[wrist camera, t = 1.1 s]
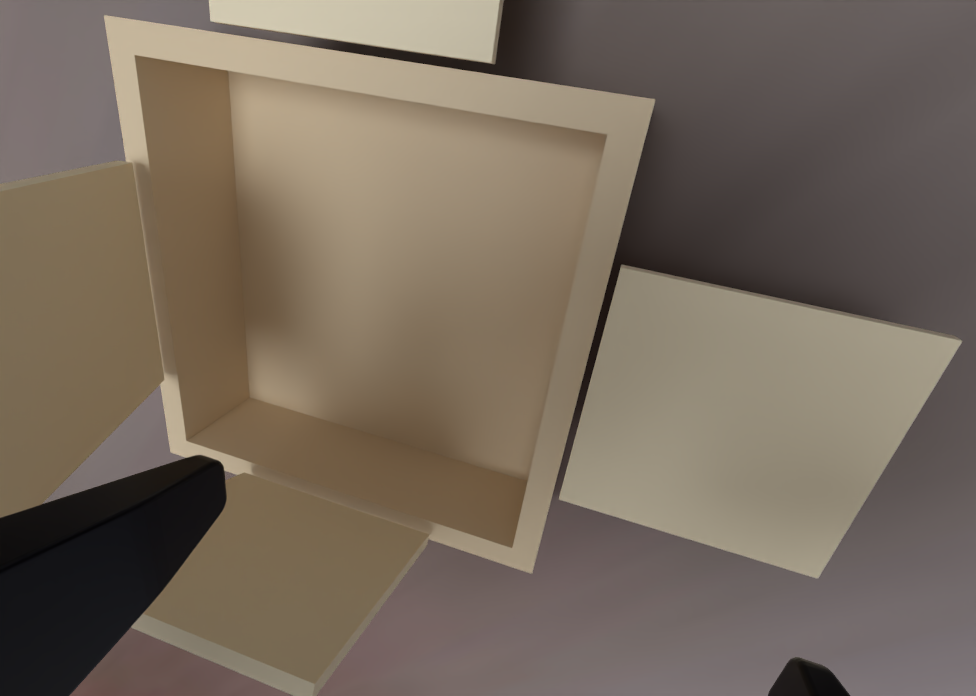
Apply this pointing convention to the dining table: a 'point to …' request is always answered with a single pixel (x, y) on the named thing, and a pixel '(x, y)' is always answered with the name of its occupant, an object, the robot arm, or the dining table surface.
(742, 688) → the dining table surface
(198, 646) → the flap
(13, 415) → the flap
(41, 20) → the dining table surface
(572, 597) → the dining table surface
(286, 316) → the carton
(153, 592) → the robot arm
